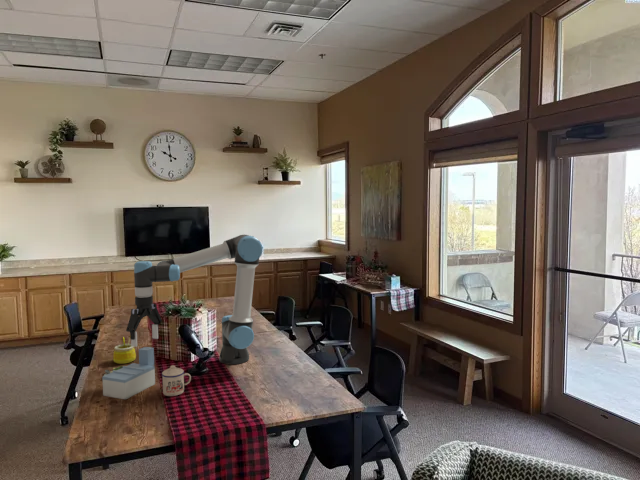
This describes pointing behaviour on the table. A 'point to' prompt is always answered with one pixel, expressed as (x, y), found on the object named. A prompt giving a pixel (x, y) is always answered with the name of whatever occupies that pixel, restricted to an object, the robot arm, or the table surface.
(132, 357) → the mug
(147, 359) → the light blue l-shaped piece
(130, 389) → the tub
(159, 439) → the table surface
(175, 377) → the teacup with lid
